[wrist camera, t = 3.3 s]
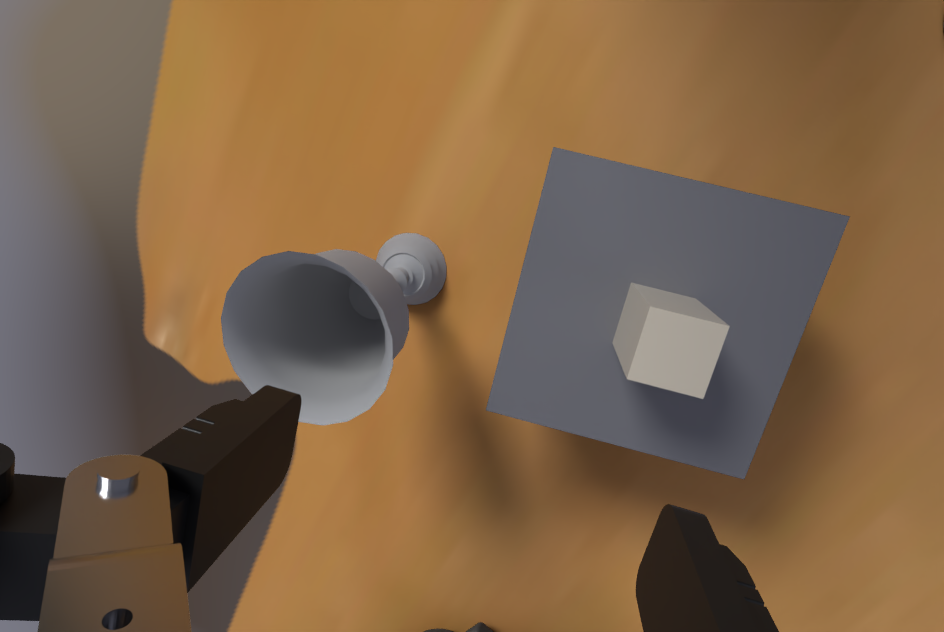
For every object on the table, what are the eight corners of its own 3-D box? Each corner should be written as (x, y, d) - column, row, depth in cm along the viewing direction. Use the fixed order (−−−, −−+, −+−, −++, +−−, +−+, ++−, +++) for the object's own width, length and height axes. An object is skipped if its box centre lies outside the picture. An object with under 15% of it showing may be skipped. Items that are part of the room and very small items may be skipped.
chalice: (481, 277, 39) (430, 357, 22) (411, 338, 41) (312, 457, 24) (410, 196, 39) (299, 212, 21) (341, 261, 40) (187, 325, 23)
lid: (552, 149, 27) (555, 140, 20) (825, 213, 27) (924, 226, 20) (489, 394, 31) (473, 457, 24) (730, 457, 30) (785, 542, 23)
